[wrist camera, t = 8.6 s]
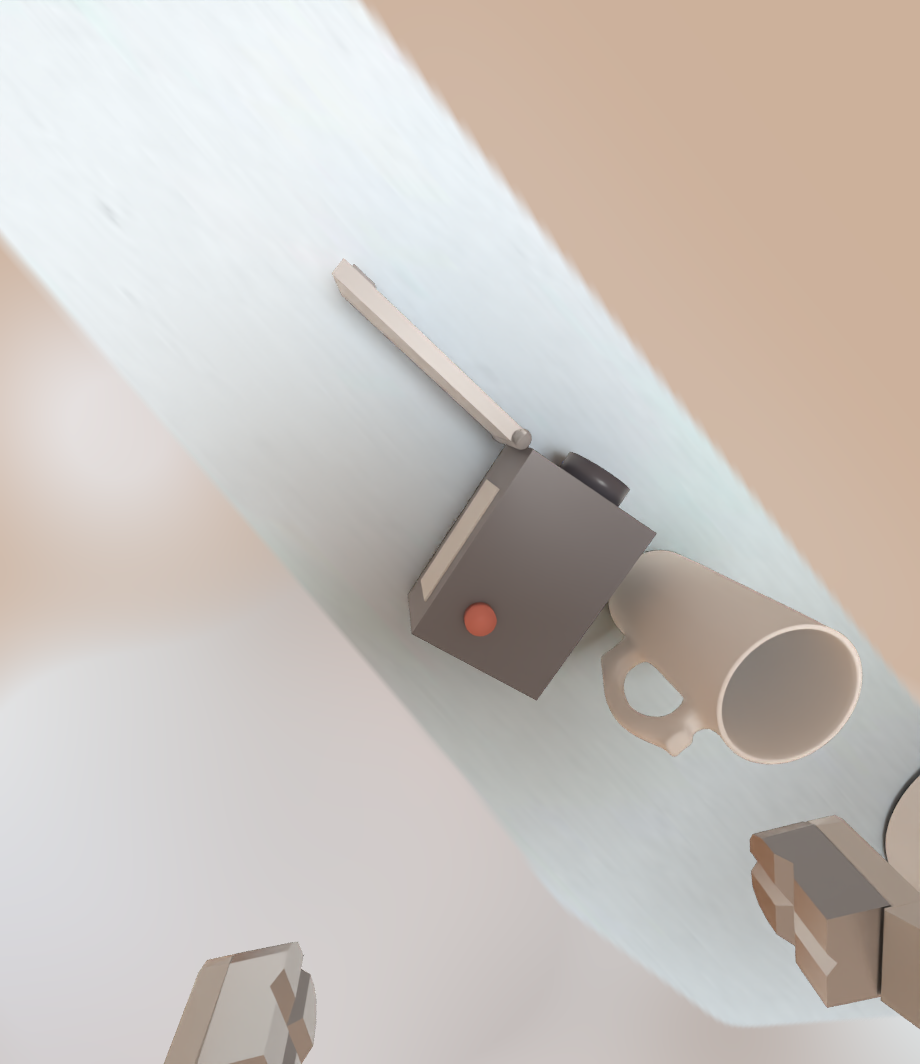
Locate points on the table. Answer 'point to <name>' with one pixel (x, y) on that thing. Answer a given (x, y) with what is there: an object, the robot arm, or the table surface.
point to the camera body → (527, 567)
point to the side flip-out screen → (427, 355)
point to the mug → (728, 663)
